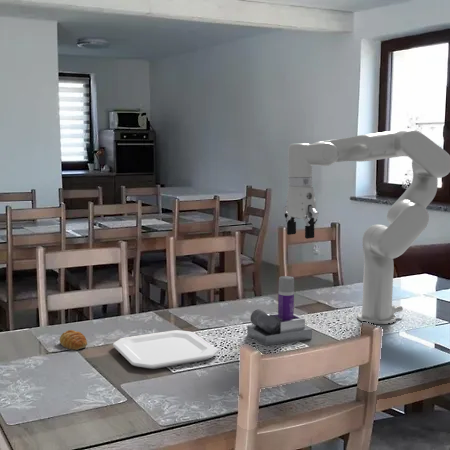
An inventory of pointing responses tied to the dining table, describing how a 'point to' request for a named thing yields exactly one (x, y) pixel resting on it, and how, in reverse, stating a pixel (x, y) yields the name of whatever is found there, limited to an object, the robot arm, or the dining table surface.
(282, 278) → the container
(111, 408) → the dining table surface
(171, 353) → the plate
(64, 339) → the pastry
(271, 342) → the block
